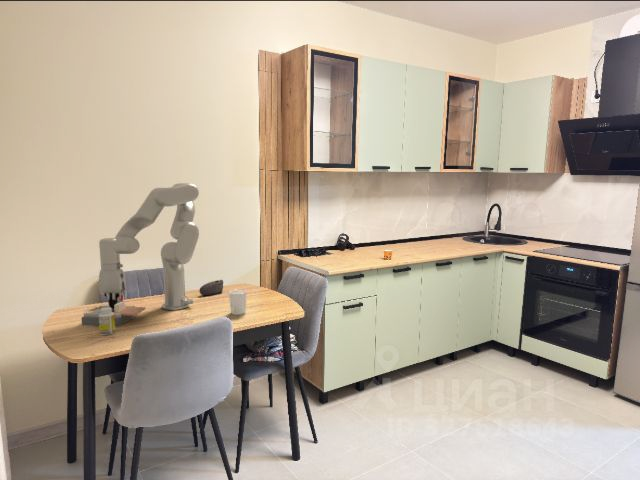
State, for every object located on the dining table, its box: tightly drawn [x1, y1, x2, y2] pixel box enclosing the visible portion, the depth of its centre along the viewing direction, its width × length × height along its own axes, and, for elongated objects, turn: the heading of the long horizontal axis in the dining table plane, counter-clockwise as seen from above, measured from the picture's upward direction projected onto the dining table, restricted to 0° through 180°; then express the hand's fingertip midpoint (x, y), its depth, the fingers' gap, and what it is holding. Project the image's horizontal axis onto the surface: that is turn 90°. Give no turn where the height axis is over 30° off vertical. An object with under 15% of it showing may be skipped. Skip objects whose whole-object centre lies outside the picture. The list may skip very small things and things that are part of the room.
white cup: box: [228, 289, 247, 316], centre depth 199 cm, size 8×8×10 cm
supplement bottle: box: [98, 307, 116, 336], centre depth 172 cm, size 6×6×10 cm
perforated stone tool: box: [199, 279, 224, 296], centre depth 233 cm, size 15×5×7 cm, turn 134°
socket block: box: [81, 304, 138, 327], centre depth 189 cm, size 16×16×5 cm
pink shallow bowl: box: [113, 301, 146, 317], centre depth 188 cm, size 10×10×4 cm
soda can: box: [107, 294, 125, 305], centre depth 211 cm, size 7×7×12 cm
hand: (113, 307), depth 188 cm, fingers closed
